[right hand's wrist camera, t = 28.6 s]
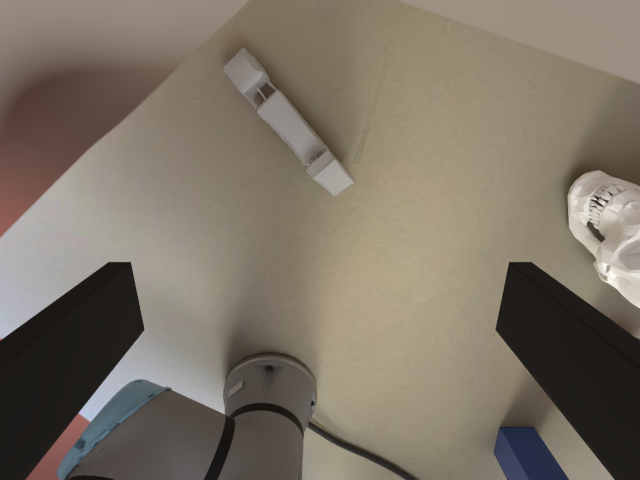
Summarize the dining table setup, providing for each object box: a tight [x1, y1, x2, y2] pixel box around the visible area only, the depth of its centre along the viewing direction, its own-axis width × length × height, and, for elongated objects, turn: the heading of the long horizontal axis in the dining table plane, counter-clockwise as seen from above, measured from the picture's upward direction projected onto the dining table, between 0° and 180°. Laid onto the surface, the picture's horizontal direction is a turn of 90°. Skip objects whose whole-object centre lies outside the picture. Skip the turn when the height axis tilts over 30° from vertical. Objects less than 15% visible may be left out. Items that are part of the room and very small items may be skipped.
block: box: [494, 427, 569, 480], centre depth 59 cm, size 6×6×11 cm
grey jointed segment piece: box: [223, 48, 354, 196], centre depth 42 cm, size 20×4×7 cm, turn 41°
